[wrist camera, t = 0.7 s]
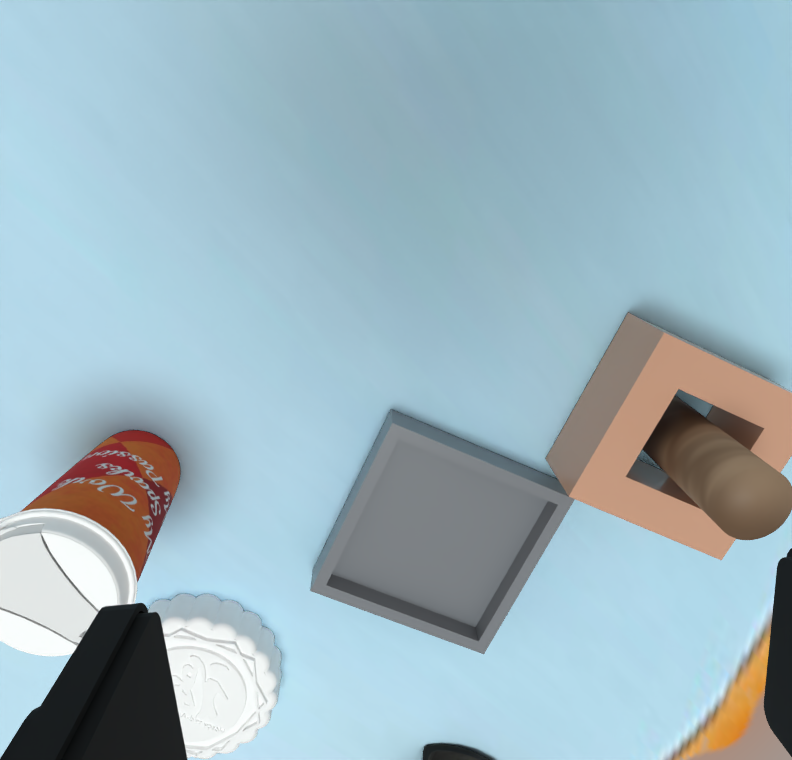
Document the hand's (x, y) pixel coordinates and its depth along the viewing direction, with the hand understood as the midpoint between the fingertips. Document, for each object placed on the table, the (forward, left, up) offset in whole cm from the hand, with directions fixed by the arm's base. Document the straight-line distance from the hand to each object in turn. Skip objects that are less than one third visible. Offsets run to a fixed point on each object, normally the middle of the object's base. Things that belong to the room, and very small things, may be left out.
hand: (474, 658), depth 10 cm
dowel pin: (+1, +20, -34) cm, 39 cm away
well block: (+1, +20, -34) cm, 39 cm away
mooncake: (+31, -1, -34) cm, 46 cm away
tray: (+14, +10, -34) cm, 38 cm away
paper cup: (+18, -10, -34) cm, 39 cm away
